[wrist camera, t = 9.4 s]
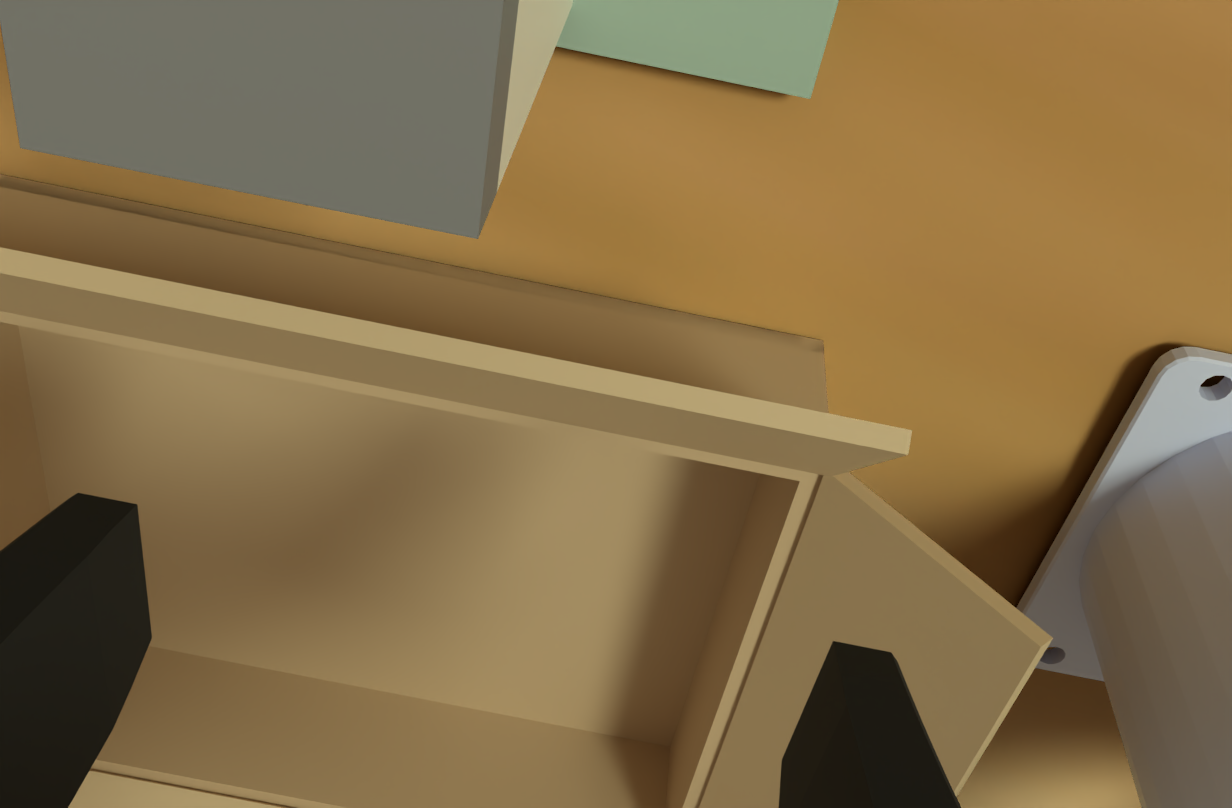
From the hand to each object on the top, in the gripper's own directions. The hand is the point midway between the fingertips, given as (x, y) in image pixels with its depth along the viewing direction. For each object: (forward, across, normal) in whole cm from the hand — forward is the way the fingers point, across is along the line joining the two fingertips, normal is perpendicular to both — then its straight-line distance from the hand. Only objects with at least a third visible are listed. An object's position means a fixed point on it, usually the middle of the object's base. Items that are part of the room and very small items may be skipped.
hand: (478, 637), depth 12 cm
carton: (+9, +2, +7) cm, 12 cm away
